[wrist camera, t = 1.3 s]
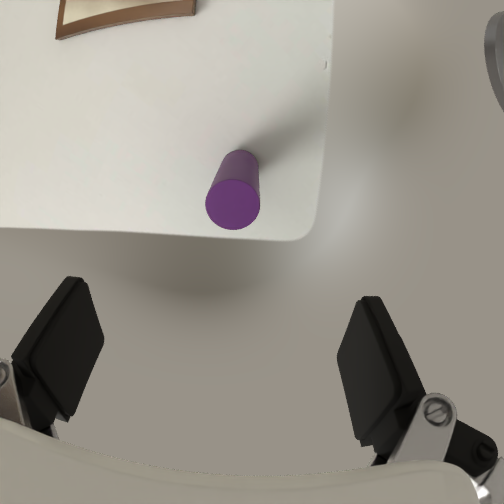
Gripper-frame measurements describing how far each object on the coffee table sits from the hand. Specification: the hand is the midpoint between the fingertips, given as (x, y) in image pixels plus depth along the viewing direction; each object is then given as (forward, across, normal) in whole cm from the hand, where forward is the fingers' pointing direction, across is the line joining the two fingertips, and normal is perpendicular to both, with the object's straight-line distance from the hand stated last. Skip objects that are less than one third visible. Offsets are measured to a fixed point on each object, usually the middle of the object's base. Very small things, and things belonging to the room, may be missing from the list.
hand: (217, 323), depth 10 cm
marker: (+19, 0, -1) cm, 19 cm away
